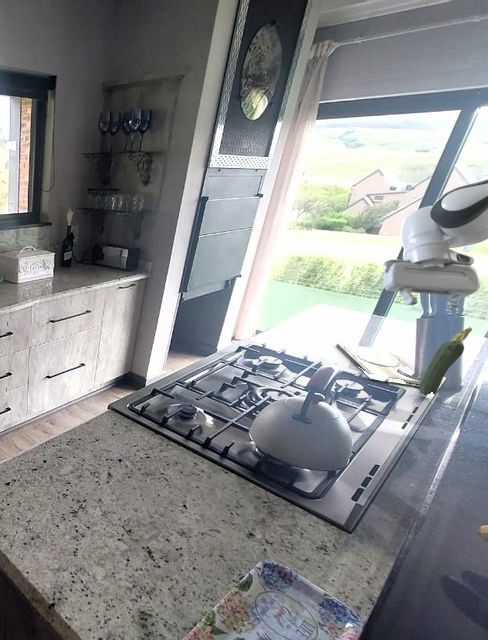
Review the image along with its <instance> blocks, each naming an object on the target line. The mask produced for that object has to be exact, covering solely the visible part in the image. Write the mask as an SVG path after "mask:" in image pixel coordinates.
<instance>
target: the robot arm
mask: <svg viewBox="0 0 488 640" xmlns="http://www.w3.org/2000/svg"><path fill="white" fill-rule="evenodd" d="M400 240H401V246H402V248H403V254H402V259H395V258H392V259H389V260H386V261H385V262H384V263H383V271H384V272H383V279H382V287H383V289H384V290H385V291H389V292H390V291H391V292H399V296H401V298H402V299H403V300H405V305H406V306H415V305H417V304H418V297H416V296H414V295H413V294H412V293H415V294H425V295H426V294H427V295H438V296H439V295H440V296H449V299H451V300H449V301H447V302H446V303H445V306H446V309H449V310H456V309H458V308H459V307H460V300H461V299H462V298H463V297H468V296H470V295H473V294H474V293H476V292H478V290H479V289H480V288H481V285H480V278H479V275H478V271H477V269H476V268H475V267H474V266H472V265H473V264H475V259H474V257H473V256H470V255H467V254H464V253H460V252H457V251H455V250H454V248H459V247H460V248H461V247H465V246H470V245H475V244H478V243H482V242H484V241H486V240H488V178H487V179H484V180H481V181H477V182H472V183H469V184H465V185H460V186H458V187H456V188H453V189H451V190H449V191H447V192H445V193H444V194H442V195H441V196H440V197H439V198H438V199H436V201H435V202H434V203H433V205H429V206H424V207H420V208H418V209H415V210H414V211H412V212H411V213H409V214H408V215H407V216H406V217H405V218H404V220H402V224H401V228H400ZM461 274H462V275H461Z"/></svg>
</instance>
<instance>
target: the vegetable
mask: <svg viewBox="0 0 488 640" xmlns="http://www.w3.org/2000/svg"><path fill="white" fill-rule="evenodd" d="M472 331H473V328H471V326H468V327H467V328H464V329H463V330H461V331H459V332H458V333H456V334H455V335H454V336H453V337H452V339H450V340H446V341H444V342H443V343H441V344H440V345H439V346H438V347H437V349H436V350H435V352H434V353H433V355H432V357H431V359H430V361H429V363H428V365H427V367H426V368H425V369H426V370H425V372H424V373H423V375H422V380H421V383H420V387H419V392H420V394H421V395H422V394H424V395H427V394H430V393H431V392H433V394H434V396H435V395H436V394H437V393H438V391H439V388H440V386H441V384H442V381H443V379H444V376H445V375H446V374H447V372H448V370H449V369H450V368H451V367H452V366H453V364H454V363H455V362H457V360H458V359H459V358H460V357H461V356H462V355H463V353H464V350H465V345H464V343H462V342H463V341H465V340H466V339H467V338H468V336H469V334H470V333H471V332H472Z"/></svg>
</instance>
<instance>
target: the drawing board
mask: <svg viewBox="0 0 488 640" xmlns="http://www.w3.org/2000/svg"><path fill="white" fill-rule="evenodd" d="M335 347H337V348H338V349H339V350H340V351H341V352H342V353H343V354H344V355H345V356H346V357H347V358H348V359H349V360H350V361H351V363H352V364H354V365H355V366H356V367H357V366H358V367H360V368H362V369H363V370H364V371H366V372H367V373H368V374H373V375H377V376H388V377H389V378H392V379H393V378H394V379H401V380H403V381H404V382H406V383H409V384H416V385H420V381H418V380H415V379H412V378H409V377H406V376H404V375H402V374H400V373H398V372H397V370H398V369H399V368H400V369H401V368H406V366H408V365H407V364H406V363H405V362H403V361H402V360H401V359H400V358H399V357H397V356H395V354H393V353H392V352H391V351H389V350H388V349H384V348H383V349H382V348H376V347H375V348H374V347H367V346H360V345H352V344H346V343H336V345H335ZM358 367H357V368H358Z"/></svg>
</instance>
